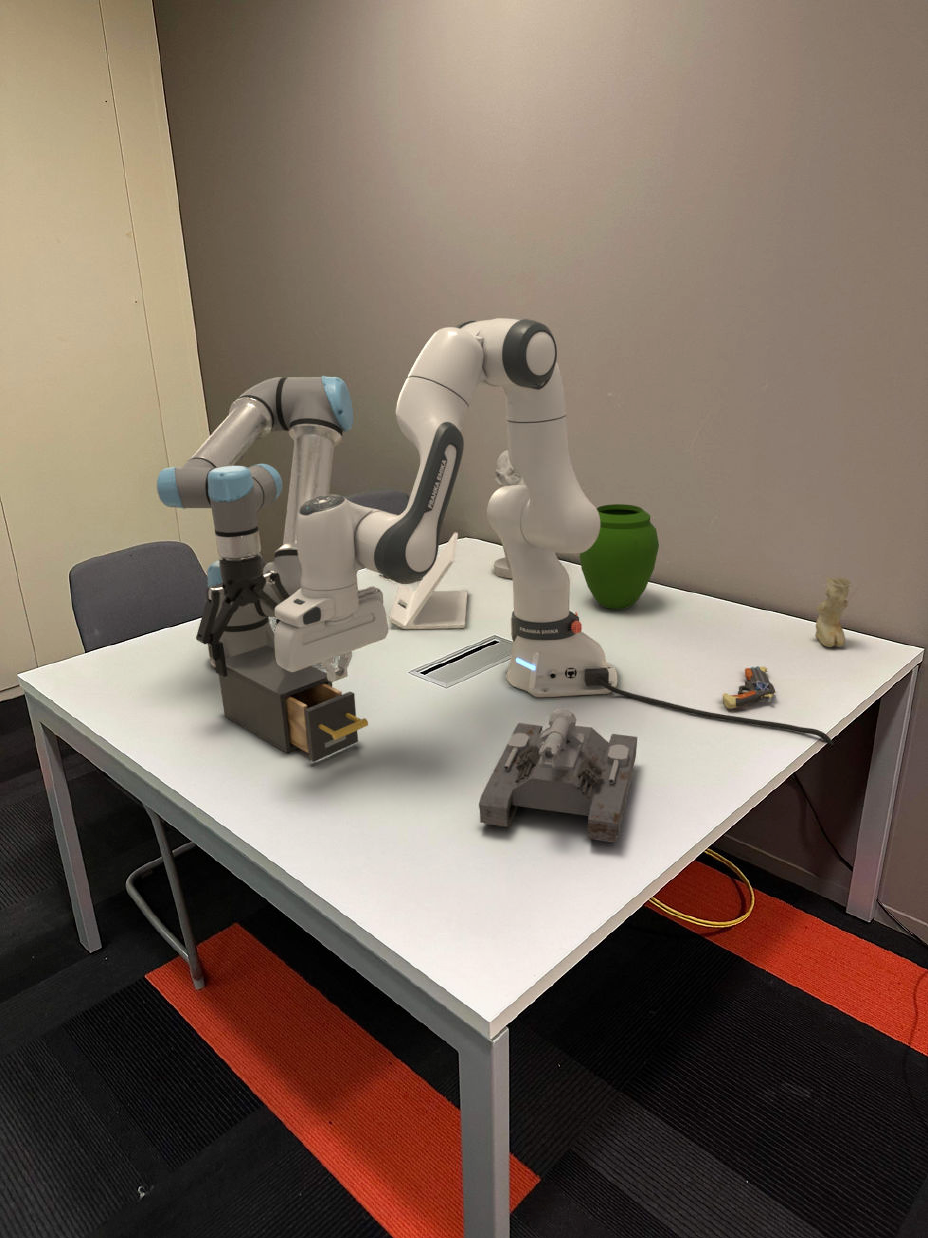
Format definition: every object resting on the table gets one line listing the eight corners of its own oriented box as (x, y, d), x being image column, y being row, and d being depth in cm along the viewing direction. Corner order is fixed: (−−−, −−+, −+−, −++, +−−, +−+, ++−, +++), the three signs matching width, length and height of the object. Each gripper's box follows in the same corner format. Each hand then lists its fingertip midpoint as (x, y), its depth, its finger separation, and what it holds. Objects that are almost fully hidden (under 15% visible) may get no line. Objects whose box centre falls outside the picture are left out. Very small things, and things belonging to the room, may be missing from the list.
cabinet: (336, 732, 156) (331, 675, 151) (286, 753, 149) (280, 694, 145) (272, 697, 170) (266, 645, 166) (224, 716, 163) (216, 661, 159)
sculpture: (821, 649, 184) (830, 583, 179) (808, 637, 191) (816, 573, 185) (848, 649, 184) (858, 582, 179) (834, 636, 191) (843, 572, 185)
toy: (518, 748, 148) (518, 669, 142) (636, 762, 142) (640, 680, 137) (479, 832, 125) (476, 741, 120) (616, 853, 119) (620, 758, 114)
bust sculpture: (503, 593, 225) (502, 460, 212) (483, 567, 247) (480, 445, 234) (562, 587, 228) (563, 456, 215) (536, 562, 250) (536, 441, 237)
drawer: (377, 752, 146) (373, 702, 143) (332, 773, 140) (327, 722, 137) (293, 707, 163) (288, 662, 160) (250, 724, 157) (244, 677, 154)
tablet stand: (467, 593, 225) (465, 531, 219) (465, 628, 202) (462, 559, 196) (399, 594, 226) (395, 532, 220) (388, 629, 203) (384, 560, 197)
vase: (599, 587, 227) (601, 497, 218) (668, 600, 216) (673, 505, 208) (562, 608, 212) (564, 513, 204) (634, 623, 202) (639, 523, 193)
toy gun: (724, 699, 158) (781, 696, 155) (715, 664, 175) (766, 661, 173) (725, 713, 158) (782, 710, 156) (716, 677, 176) (766, 674, 174)
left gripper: (287, 535, 163) (298, 638, 171) (164, 567, 147) (183, 678, 155) (309, 542, 158) (320, 647, 166) (185, 576, 142) (204, 690, 150)
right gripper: (369, 579, 144) (374, 655, 149) (264, 611, 131) (274, 692, 136) (393, 587, 140) (398, 664, 145) (288, 620, 126) (297, 704, 131)
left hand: (254, 662), depth 160 cm, fingers open, 13 cm apart
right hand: (337, 678), depth 140 cm, fingers closed
